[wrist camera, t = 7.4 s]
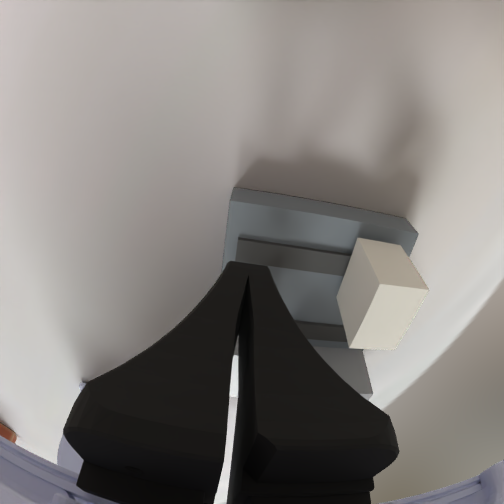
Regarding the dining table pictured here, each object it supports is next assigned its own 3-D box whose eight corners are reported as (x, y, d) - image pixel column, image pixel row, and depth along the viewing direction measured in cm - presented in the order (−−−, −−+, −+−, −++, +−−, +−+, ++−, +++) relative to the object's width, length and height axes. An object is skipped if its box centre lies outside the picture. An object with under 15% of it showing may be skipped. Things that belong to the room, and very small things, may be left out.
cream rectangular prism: (336, 297, 13) (349, 348, 11) (357, 237, 12) (380, 283, 9) (376, 301, 13) (394, 350, 11) (400, 245, 12) (429, 289, 9)
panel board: (213, 367, 19) (204, 427, 15) (233, 187, 13) (218, 239, 9) (332, 378, 19) (340, 435, 15) (405, 218, 13) (449, 274, 9)
